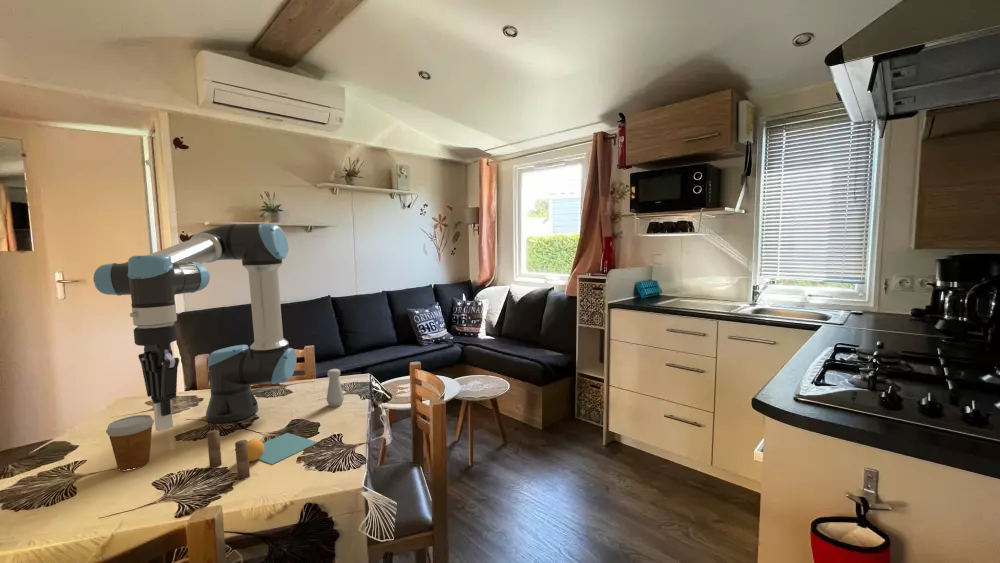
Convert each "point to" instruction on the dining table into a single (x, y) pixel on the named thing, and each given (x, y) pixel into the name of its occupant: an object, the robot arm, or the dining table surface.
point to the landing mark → (284, 447)
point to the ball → (255, 449)
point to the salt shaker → (334, 389)
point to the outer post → (242, 459)
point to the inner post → (214, 448)
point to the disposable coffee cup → (131, 440)
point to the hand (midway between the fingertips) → (164, 428)
